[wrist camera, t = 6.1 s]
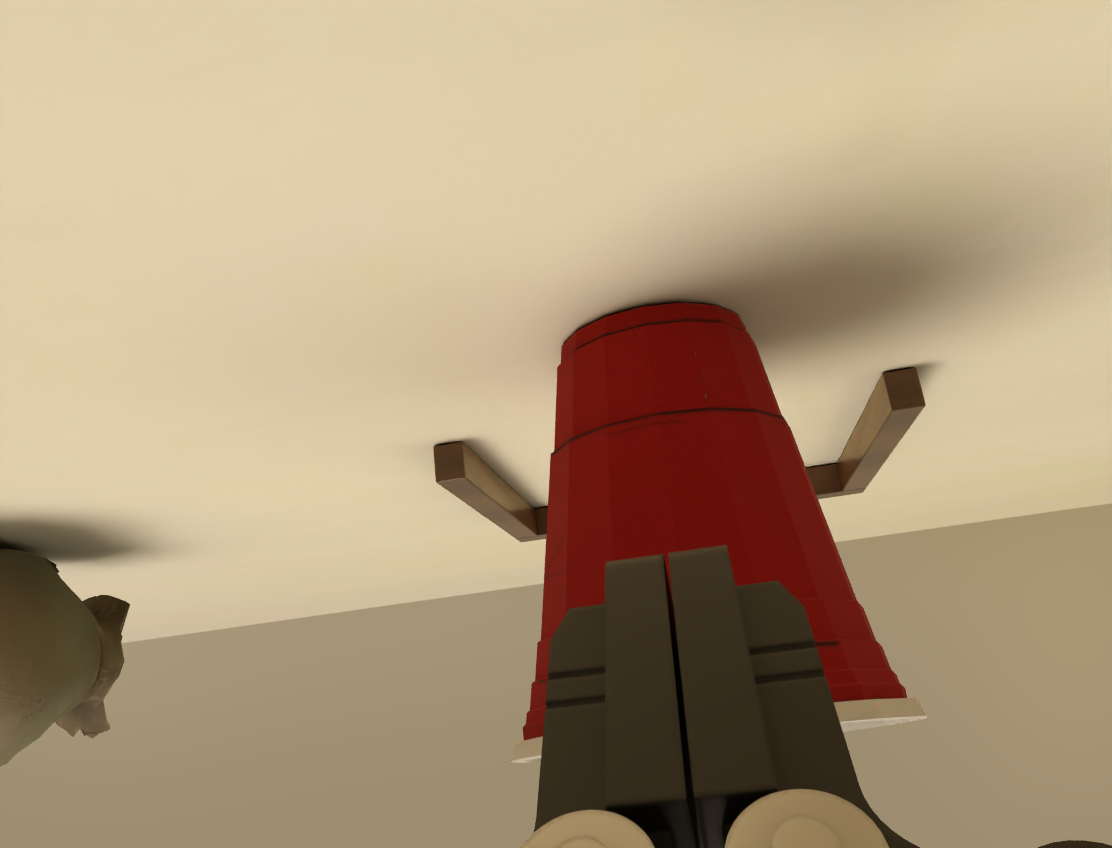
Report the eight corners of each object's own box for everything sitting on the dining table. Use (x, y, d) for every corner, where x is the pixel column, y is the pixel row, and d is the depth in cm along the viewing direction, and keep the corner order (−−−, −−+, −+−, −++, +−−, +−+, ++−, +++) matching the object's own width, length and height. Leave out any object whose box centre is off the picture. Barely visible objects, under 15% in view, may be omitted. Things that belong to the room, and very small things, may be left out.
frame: (432, 445, 35) (435, 482, 34) (916, 366, 32) (926, 405, 32) (517, 515, 49) (520, 542, 49) (857, 465, 46) (863, 492, 46)
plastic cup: (855, 213, 21) (987, 751, 17) (818, 368, 31) (896, 726, 27) (420, 300, 23) (456, 804, 19) (520, 419, 33) (556, 763, 29)
